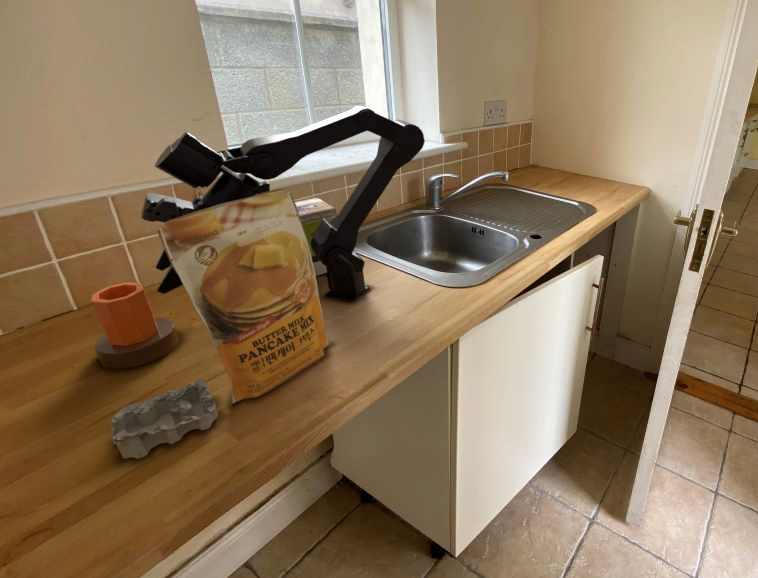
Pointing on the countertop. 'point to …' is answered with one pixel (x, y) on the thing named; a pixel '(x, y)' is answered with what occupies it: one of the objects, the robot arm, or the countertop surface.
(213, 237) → the pancake mix bag
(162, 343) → the walnut ring base
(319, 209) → the tea box
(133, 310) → the orange faceted cup
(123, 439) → the egg carton
